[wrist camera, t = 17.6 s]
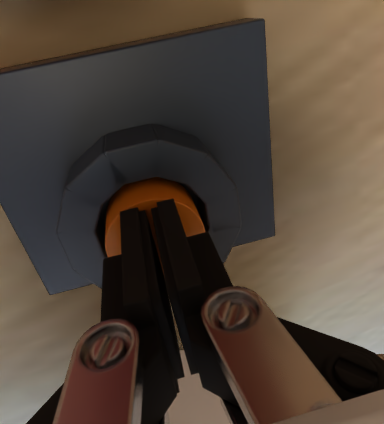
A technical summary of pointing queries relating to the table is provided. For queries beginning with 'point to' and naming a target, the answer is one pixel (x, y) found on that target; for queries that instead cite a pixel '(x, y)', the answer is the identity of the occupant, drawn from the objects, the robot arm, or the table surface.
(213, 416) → the milk
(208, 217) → the control block
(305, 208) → the table surface
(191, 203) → the button
